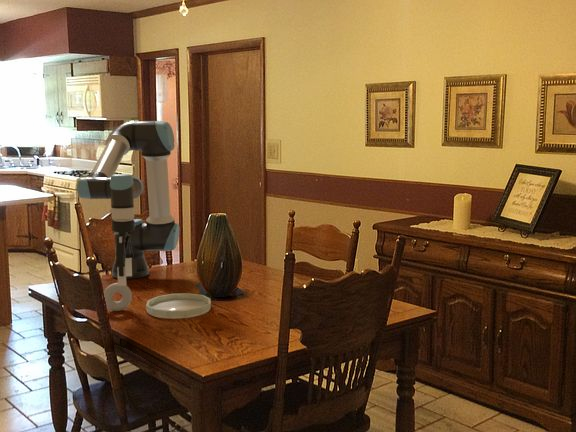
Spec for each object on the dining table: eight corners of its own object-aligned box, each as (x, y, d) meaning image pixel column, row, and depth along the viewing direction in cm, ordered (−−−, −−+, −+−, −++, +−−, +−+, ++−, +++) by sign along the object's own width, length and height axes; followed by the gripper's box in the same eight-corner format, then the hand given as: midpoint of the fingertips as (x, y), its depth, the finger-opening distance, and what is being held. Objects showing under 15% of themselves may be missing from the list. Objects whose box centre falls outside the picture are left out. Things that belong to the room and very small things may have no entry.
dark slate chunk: (231, 282, 274) (231, 271, 273) (245, 296, 254) (244, 284, 253) (193, 285, 269) (193, 274, 269) (204, 300, 249) (204, 288, 248)
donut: (132, 308, 238) (130, 280, 236) (133, 310, 235) (132, 282, 233) (102, 311, 234) (101, 283, 233) (103, 313, 231) (102, 285, 230)
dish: (150, 301, 246) (150, 294, 246) (211, 299, 248) (211, 292, 248) (143, 319, 225) (143, 312, 224) (209, 317, 226) (209, 310, 226)
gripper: (117, 214, 242) (119, 272, 245) (105, 225, 217) (107, 289, 220) (138, 214, 242) (140, 272, 245) (128, 225, 218) (131, 289, 221)
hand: (125, 280), depth 233 cm, fingers open, 13 cm apart
